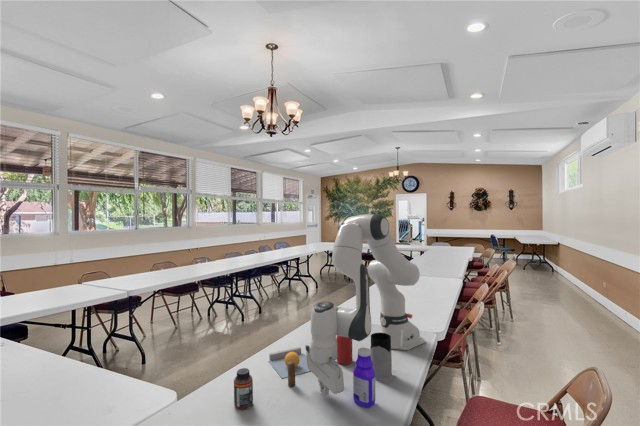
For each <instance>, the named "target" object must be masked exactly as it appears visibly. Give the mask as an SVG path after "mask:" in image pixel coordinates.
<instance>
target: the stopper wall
mask: <svg viewBox="0 0 640 426" xmlns="http://www.w3.org/2000/svg"><path fill="white" fill-rule="evenodd" d="M289 352H295V353H297V354H302V348H301V347H300V346H299V347H294V348H288V349H284V350H281V351H280V350H279V351H276V352H275V351H274V352H271V353H269V360H268V361H272V360H276V359H280V358H285V357H286V355H287V354H288V353H289Z"/></svg>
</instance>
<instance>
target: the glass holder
mask: <svg viewBox="0 0 640 426" xmlns="http://www.w3.org/2000/svg"><path fill="white" fill-rule="evenodd" d="M369 349H370V354H371V360H372V362H373V366H372V367H373V369H374V371H375V382H382V383H383V382H390V381H391V380H393V377H394V376H393V373H392V372H393V366H392V349H391V336H390V335H389V334H386V332H384V333H380V332H374V333H370V348H369Z"/></svg>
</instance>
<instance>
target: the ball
mask: <svg viewBox="0 0 640 426" xmlns="http://www.w3.org/2000/svg"><path fill="white" fill-rule="evenodd" d="M291 361H293V362H295V367H296V366H298V364H299V361H300V358H299V355H298V354H297V353H295V352H289V353H288V354H287V355H286V357H285V364H286V366H287V367H288V362H291Z"/></svg>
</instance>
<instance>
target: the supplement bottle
mask: <svg viewBox="0 0 640 426" xmlns="http://www.w3.org/2000/svg"><path fill="white" fill-rule="evenodd" d="M253 383H254V382H253V376H252V375H251V374H250V369H249V368H248V367H247V368H246V367H243V368H239V369H237V371H236V376H235V377H234V380H233V402H234V403H233V405H234V408H235V409H237V410H239V411H240V410H241V411H245V410H248V409H249V408H251V407H252V406H253V404H254V392H253V391H254V387H253V386H254V385H253Z"/></svg>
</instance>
